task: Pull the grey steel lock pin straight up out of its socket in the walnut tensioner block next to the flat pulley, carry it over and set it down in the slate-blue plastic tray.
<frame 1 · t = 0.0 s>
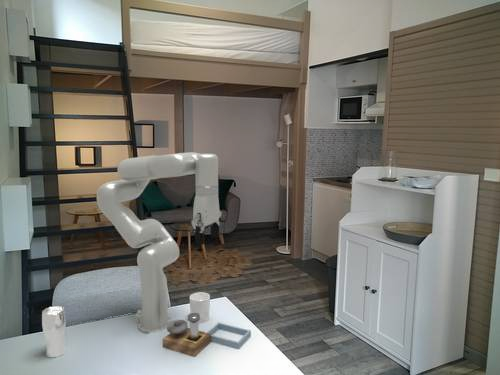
hand: (207, 240, 133), 37 cm above the table, tool pointing down, fingers open, 9 cm apart
tensioner block: (186, 346, 134), on the table
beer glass: (56, 353, 130), on the table
tray: (228, 340, 138), on the table
lock pin: (194, 346, 132), point 1 cm above the table, touching tensioner block
white cup: (200, 321, 153), on the table
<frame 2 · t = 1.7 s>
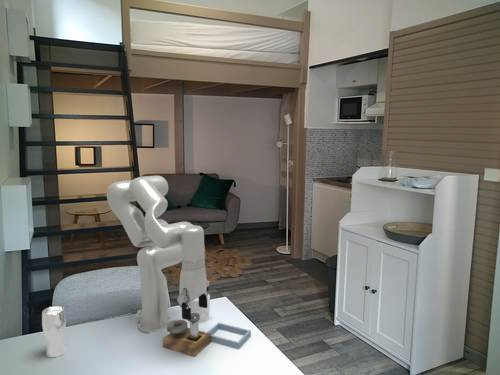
hand: (195, 312, 130), 13 cm above the table, tool pointing down, fingers open, 9 cm apart
nothing on the table moved.
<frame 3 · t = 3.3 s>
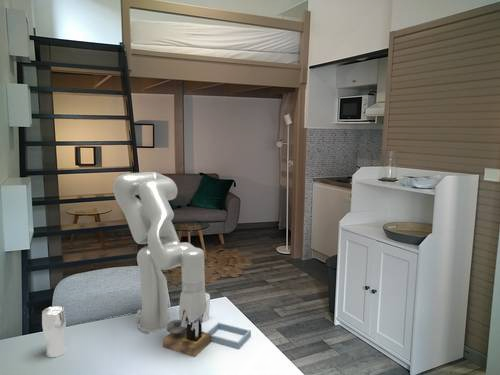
hand: (194, 336, 132), 5 cm above the table, tool pointing down, fingers closed on lock pin, 3 cm apart
lock pin: (194, 346, 132), point 1 cm above the table, touching gripper, tensioner block
everything else where it was.
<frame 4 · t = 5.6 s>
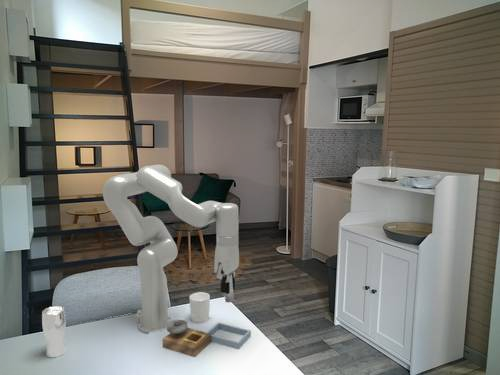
hand: (227, 290, 135), 19 cm above the table, tool pointing down, fingers closed on lock pin, 3 cm apart
lock pin: (229, 300, 136), point 15 cm above the table, touching gripper
everything else where it was.
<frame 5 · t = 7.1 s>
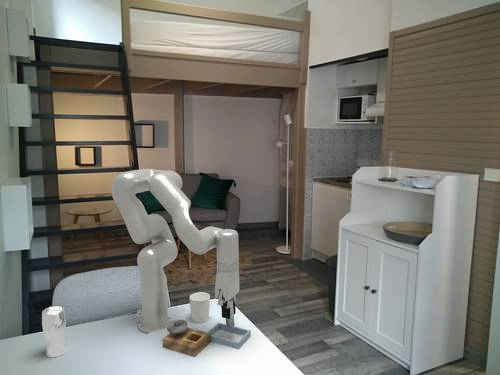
hand: (228, 315, 137), 10 cm above the table, tool pointing down, fingers closed on lock pin, 3 cm apart
lock pin: (230, 325, 137), point 6 cm above the table, touching gripper
everything else where it was.
when the fingers open (6 cm above the table, at t = 8.1 s): lock pin drops 1 cm, resting on tray.
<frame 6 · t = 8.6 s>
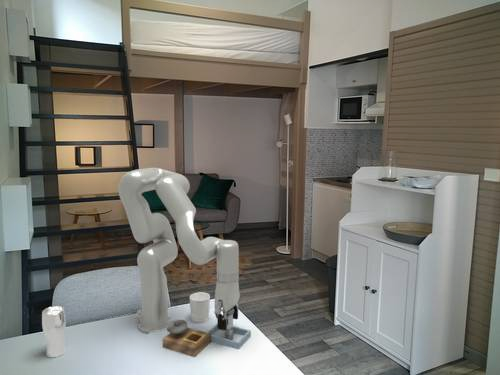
hand: (227, 323, 137), 6 cm above the table, tool pointing down, fingers open, 8 cm apart
lock pin: (229, 339, 138), point 1 cm above the table, touching tray
everything else where it was.
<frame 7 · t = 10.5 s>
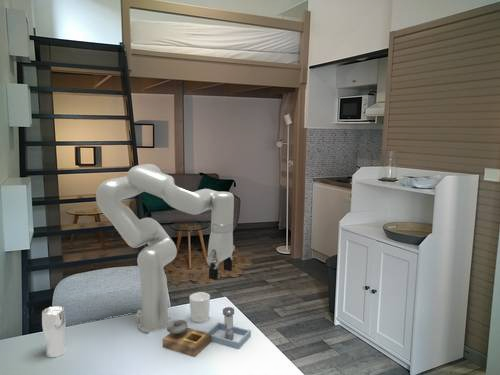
hand: (220, 274, 137), 24 cm above the table, tool pointing down, fingers open, 9 cm apart
nothing on the table moved.
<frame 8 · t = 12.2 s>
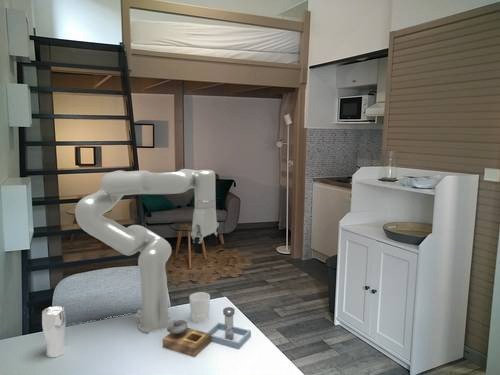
hand: (205, 249, 143), 30 cm above the table, tool pointing down, fingers open, 9 cm apart
nothing on the table moved.
at the end: lock pin inside the target area on the tray (0.5 cm from its centre), point 0.6 cm above the tray's base; the gripper is holding nothing; lock pin moved 12.8 cm from its start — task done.
